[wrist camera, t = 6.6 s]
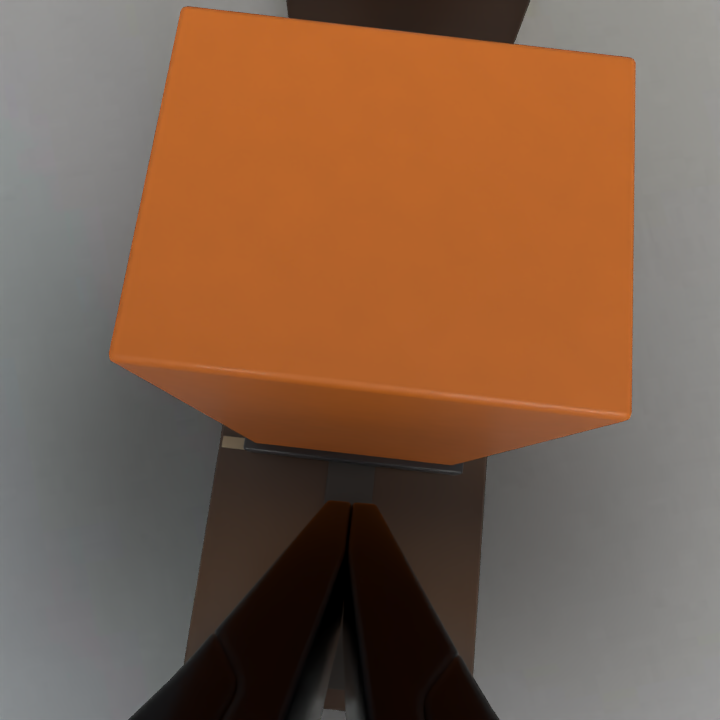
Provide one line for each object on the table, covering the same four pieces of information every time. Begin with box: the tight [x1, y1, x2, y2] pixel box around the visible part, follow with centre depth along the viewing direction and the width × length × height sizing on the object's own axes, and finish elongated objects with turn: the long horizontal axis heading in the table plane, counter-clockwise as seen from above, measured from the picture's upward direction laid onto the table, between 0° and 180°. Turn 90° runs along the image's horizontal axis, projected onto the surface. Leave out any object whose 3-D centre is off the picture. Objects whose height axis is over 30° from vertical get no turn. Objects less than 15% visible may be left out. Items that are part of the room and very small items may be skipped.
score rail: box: [184, 0, 530, 711], centre depth 16 cm, size 20×7×4 cm, turn 174°
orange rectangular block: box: [109, 6, 636, 475], centre depth 11 cm, size 4×5×10 cm
